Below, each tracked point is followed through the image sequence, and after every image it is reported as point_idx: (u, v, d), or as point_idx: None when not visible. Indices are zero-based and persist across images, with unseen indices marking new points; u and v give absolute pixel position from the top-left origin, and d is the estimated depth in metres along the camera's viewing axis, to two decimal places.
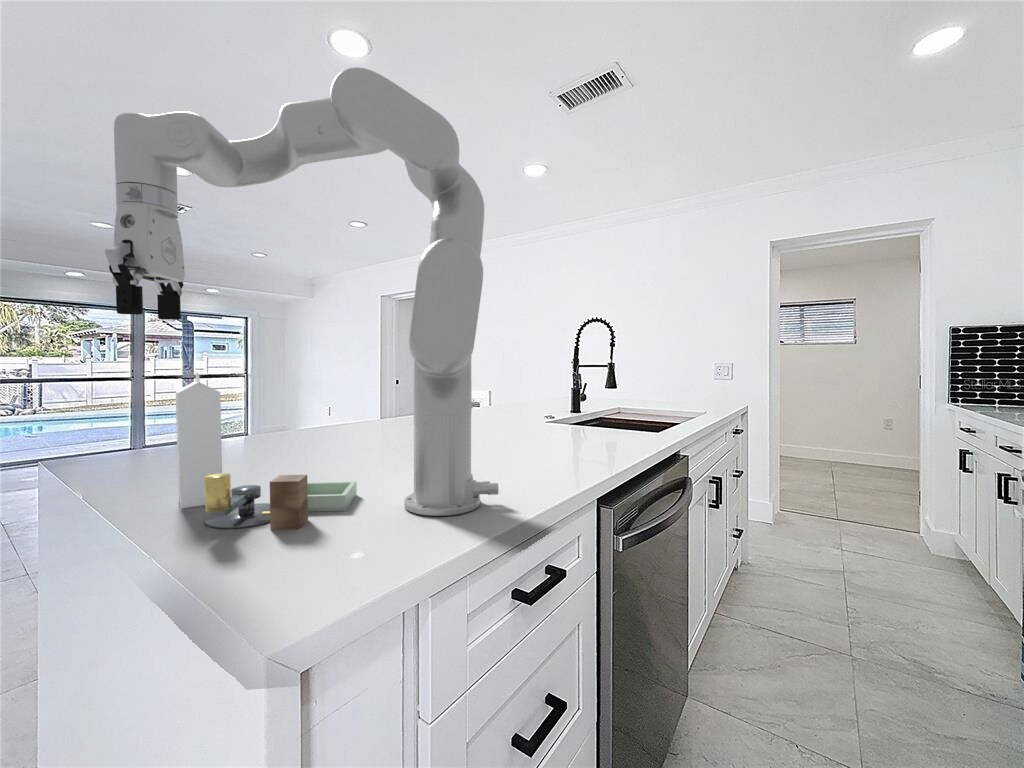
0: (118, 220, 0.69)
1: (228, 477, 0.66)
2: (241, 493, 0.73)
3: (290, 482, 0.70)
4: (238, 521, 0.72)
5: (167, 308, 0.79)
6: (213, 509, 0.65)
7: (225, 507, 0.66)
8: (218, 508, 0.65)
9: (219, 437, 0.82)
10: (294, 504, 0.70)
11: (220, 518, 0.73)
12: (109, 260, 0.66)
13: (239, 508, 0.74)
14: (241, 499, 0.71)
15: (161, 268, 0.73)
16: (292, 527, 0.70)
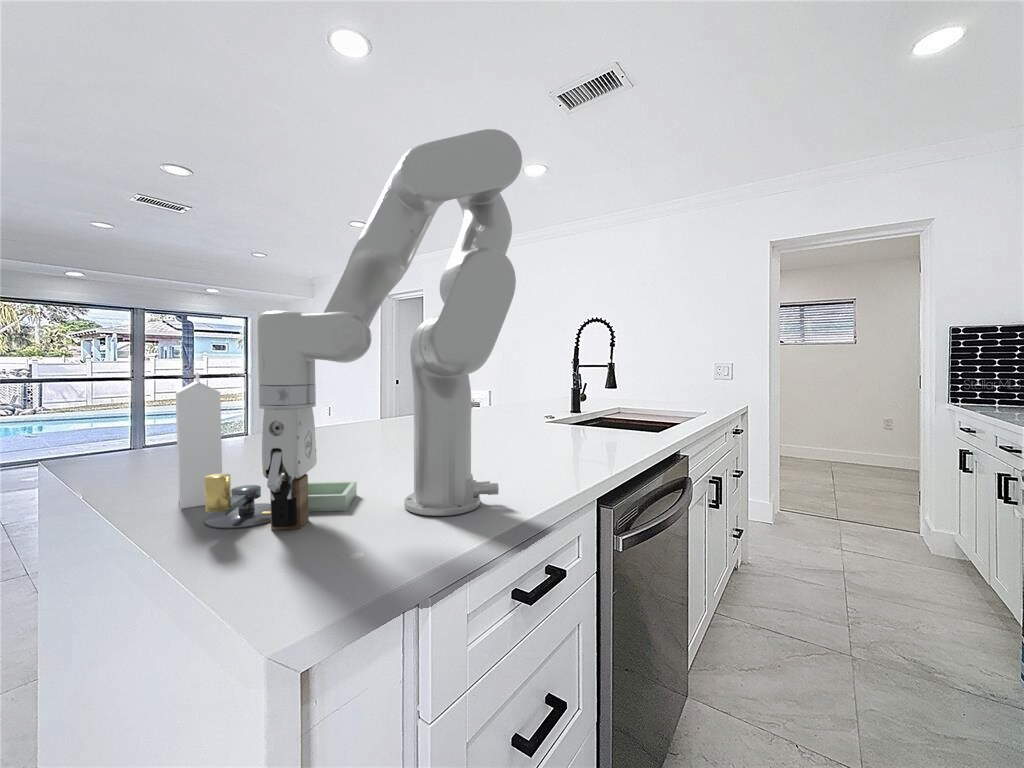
0: (266, 427, 0.66)
1: (228, 477, 0.66)
2: (241, 493, 0.73)
3: None
4: (238, 521, 0.72)
5: None
6: (213, 509, 0.65)
7: (225, 507, 0.66)
8: (218, 508, 0.65)
9: (219, 437, 0.82)
10: None
11: (220, 518, 0.73)
12: (271, 489, 0.66)
13: (239, 508, 0.74)
14: (241, 499, 0.71)
15: (304, 467, 0.70)
16: (293, 527, 0.70)
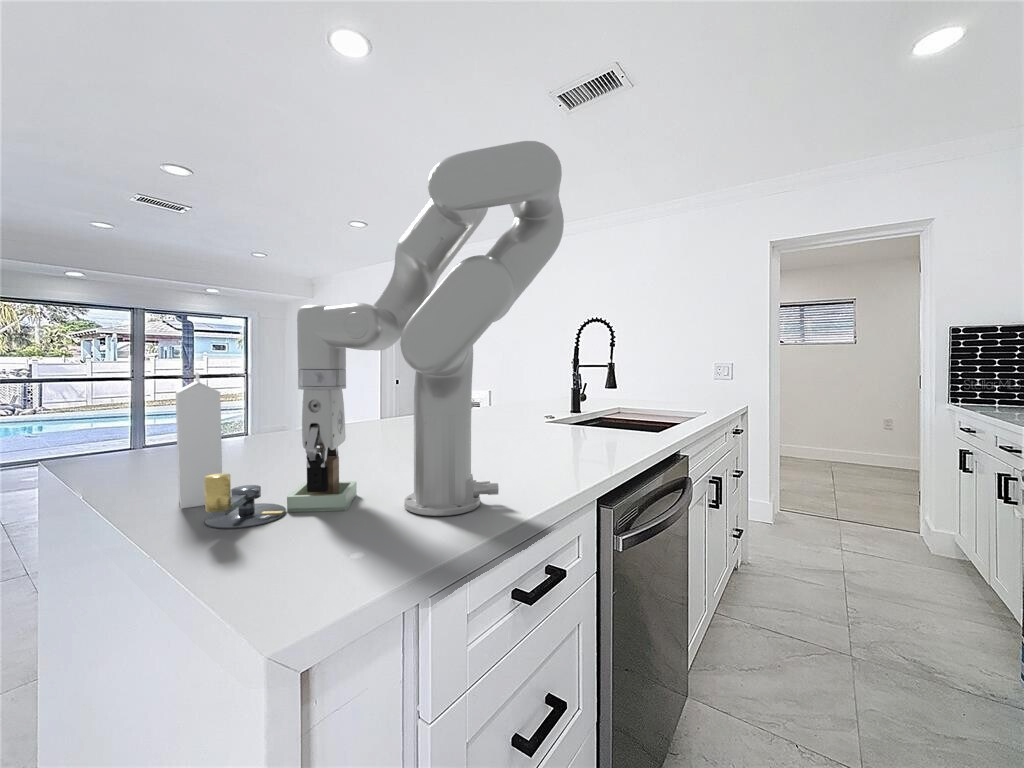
0: (306, 405, 0.77)
1: (228, 477, 0.66)
2: (241, 493, 0.73)
3: None
4: (238, 521, 0.72)
5: None
6: (213, 509, 0.65)
7: (225, 507, 0.66)
8: (218, 508, 0.65)
9: (219, 437, 0.82)
10: (329, 481, 0.81)
11: (220, 518, 0.73)
12: (308, 455, 0.75)
13: (239, 508, 0.74)
14: (241, 499, 0.71)
15: (337, 441, 0.80)
16: None
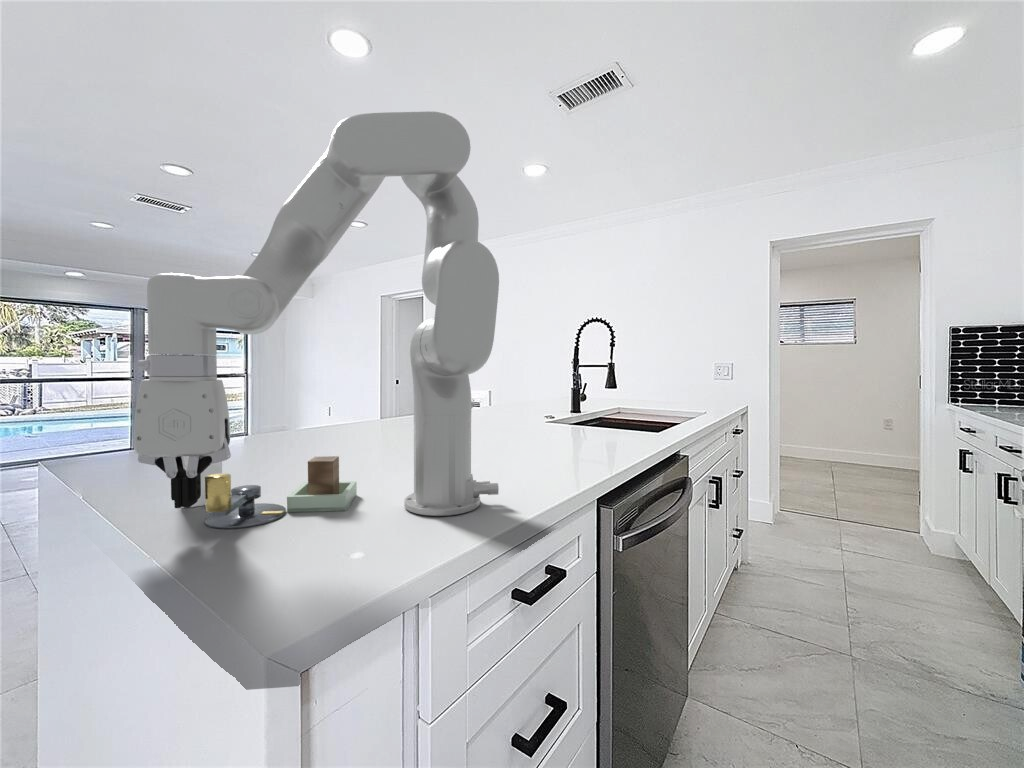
0: None
1: (228, 477, 0.66)
2: (241, 493, 0.73)
3: (325, 462, 0.80)
4: (238, 521, 0.72)
5: None
6: (213, 509, 0.65)
7: (225, 507, 0.66)
8: (218, 508, 0.65)
9: None
10: (329, 481, 0.81)
11: (220, 518, 0.73)
12: None
13: (239, 508, 0.74)
14: (241, 499, 0.71)
15: (157, 448, 0.62)
16: None
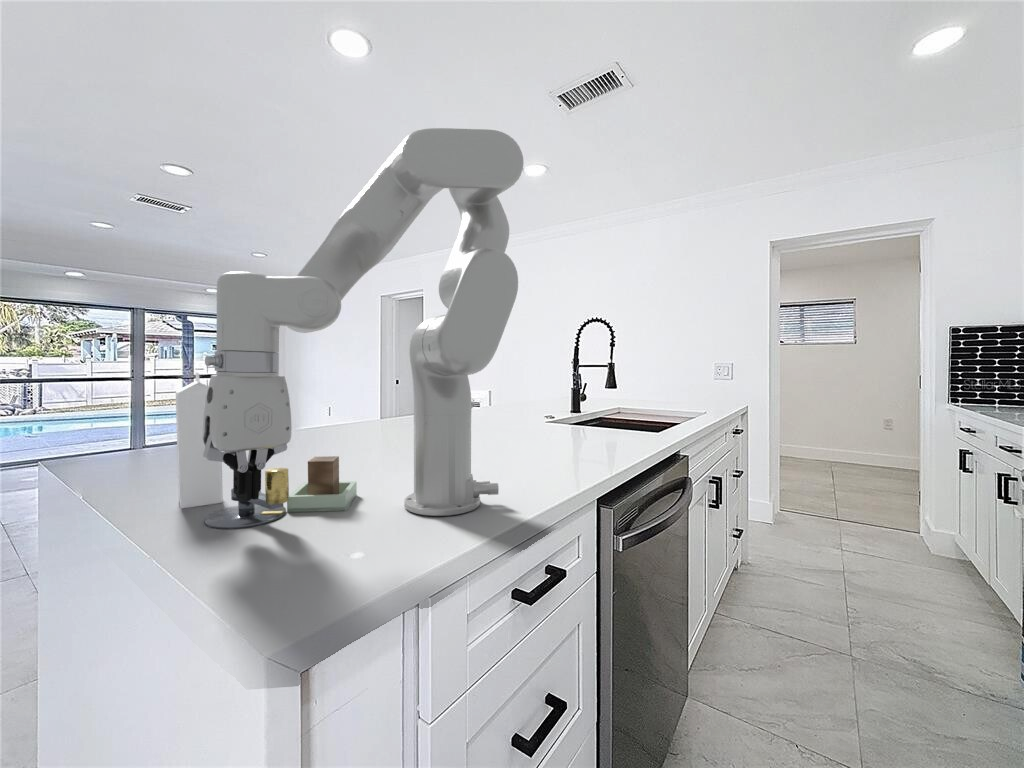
0: (207, 393, 0.64)
1: None
2: None
3: (325, 462, 0.80)
4: (238, 521, 0.72)
5: None
6: (283, 500, 0.69)
7: (288, 497, 0.71)
8: (286, 498, 0.70)
9: None
10: (329, 481, 0.81)
11: (220, 518, 0.73)
12: None
13: (239, 508, 0.74)
14: None
15: (242, 442, 0.64)
16: None
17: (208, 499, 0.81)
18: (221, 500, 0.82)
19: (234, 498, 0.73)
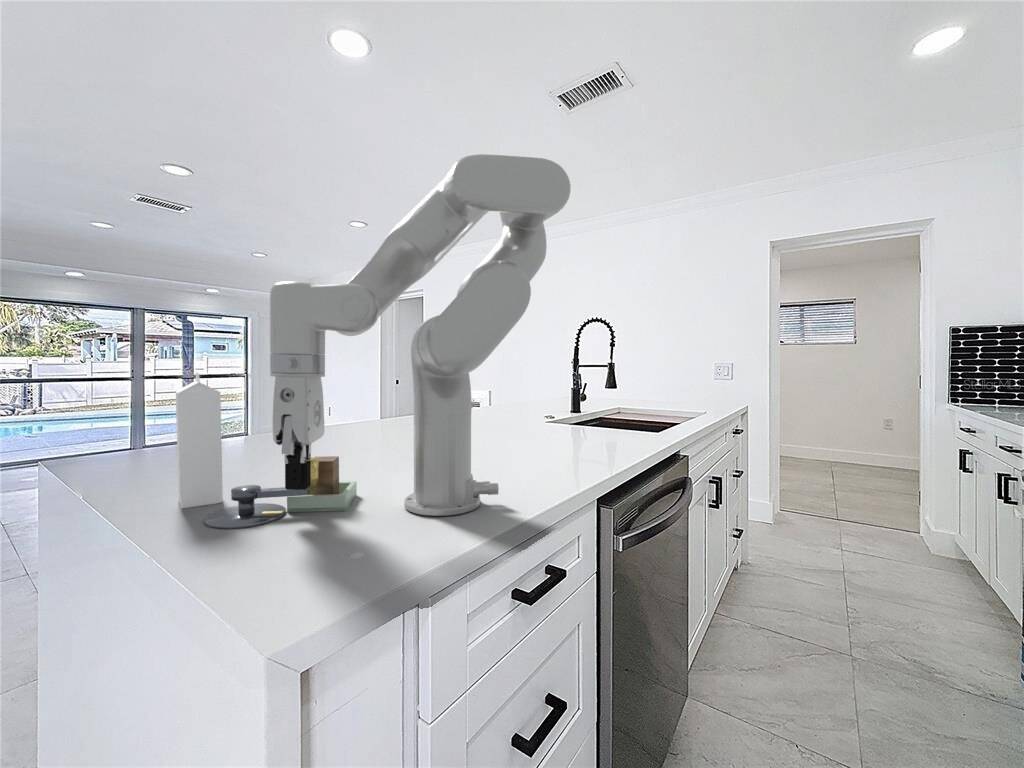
0: (277, 394, 0.68)
1: None
2: (260, 488, 0.76)
3: (325, 462, 0.80)
4: (238, 521, 0.72)
5: None
6: (318, 484, 0.78)
7: None
8: None
9: (219, 437, 0.82)
10: (329, 481, 0.81)
11: (220, 518, 0.73)
12: None
13: (239, 508, 0.74)
14: None
15: (313, 435, 0.72)
16: None
17: (208, 499, 0.81)
18: (221, 500, 0.82)
19: (246, 498, 0.73)
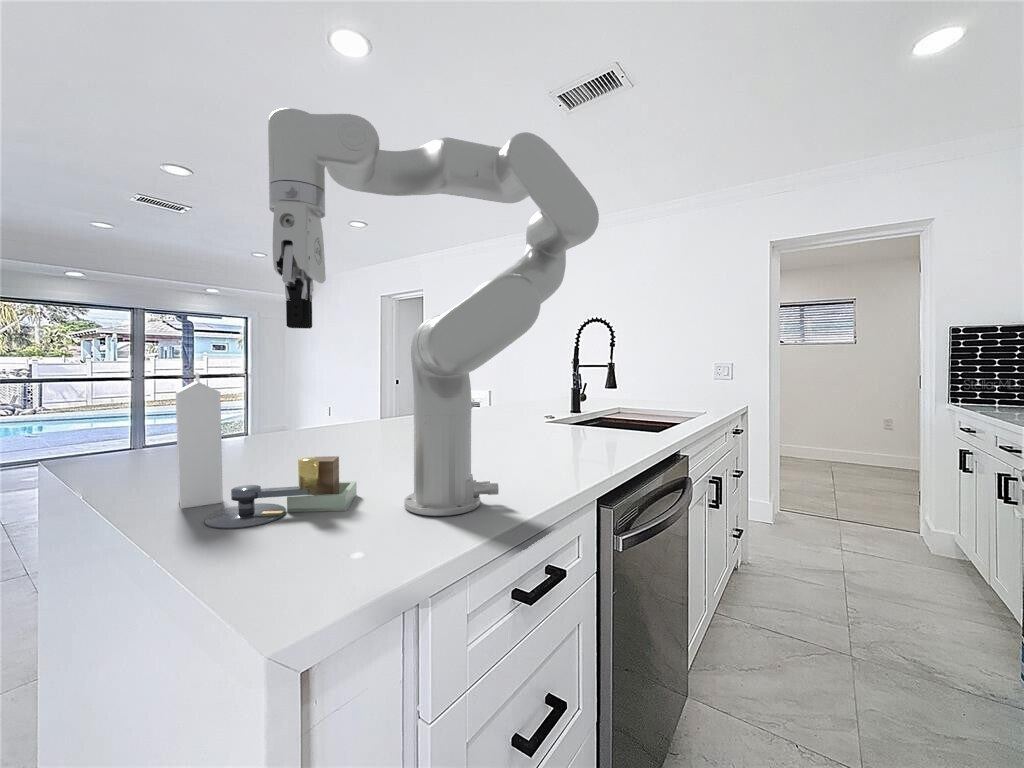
0: (277, 219, 0.67)
1: None
2: (260, 488, 0.76)
3: (325, 462, 0.80)
4: (238, 521, 0.72)
5: None
6: (318, 484, 0.78)
7: None
8: None
9: (219, 437, 0.82)
10: (329, 481, 0.81)
11: (220, 518, 0.73)
12: (287, 284, 0.68)
13: (239, 508, 0.74)
14: None
15: (314, 269, 0.70)
16: None
17: (208, 499, 0.81)
18: (221, 500, 0.82)
19: (246, 498, 0.74)
